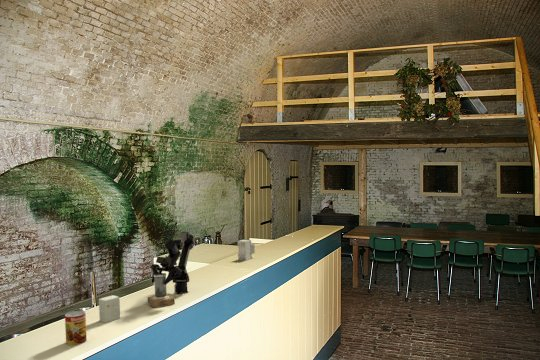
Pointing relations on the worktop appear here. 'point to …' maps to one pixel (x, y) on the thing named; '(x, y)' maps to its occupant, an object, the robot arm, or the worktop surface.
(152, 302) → the stand
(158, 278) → the cylinder
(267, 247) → the worktop surface
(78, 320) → the canned food
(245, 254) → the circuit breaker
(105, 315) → the small box
